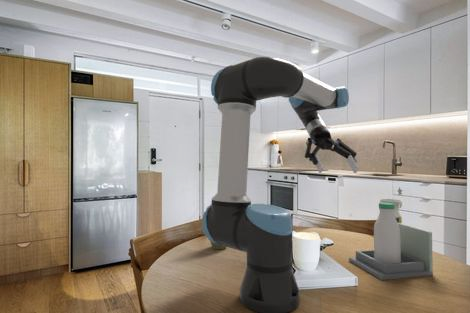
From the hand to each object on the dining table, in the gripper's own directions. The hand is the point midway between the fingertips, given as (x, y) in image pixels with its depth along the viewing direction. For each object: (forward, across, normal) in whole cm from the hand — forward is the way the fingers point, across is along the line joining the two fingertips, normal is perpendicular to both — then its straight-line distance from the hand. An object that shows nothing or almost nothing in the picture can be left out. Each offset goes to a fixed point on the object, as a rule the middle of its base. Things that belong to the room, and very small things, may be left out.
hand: (339, 170), depth 96 cm
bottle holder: (+28, -13, -17) cm, 35 cm away
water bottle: (+15, -30, -30) cm, 45 cm away
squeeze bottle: (+6, +39, -40) cm, 56 cm away
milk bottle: (+27, -13, -17) cm, 34 cm away
